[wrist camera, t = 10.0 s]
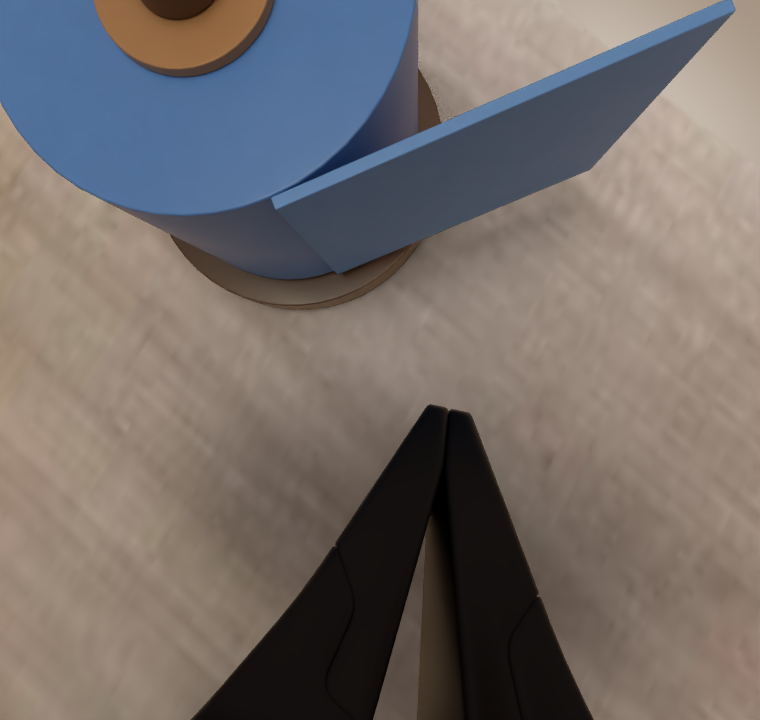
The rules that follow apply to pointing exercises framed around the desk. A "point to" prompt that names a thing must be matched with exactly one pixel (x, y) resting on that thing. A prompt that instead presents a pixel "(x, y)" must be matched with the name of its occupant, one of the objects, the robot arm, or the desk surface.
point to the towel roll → (301, 121)
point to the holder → (316, 288)
